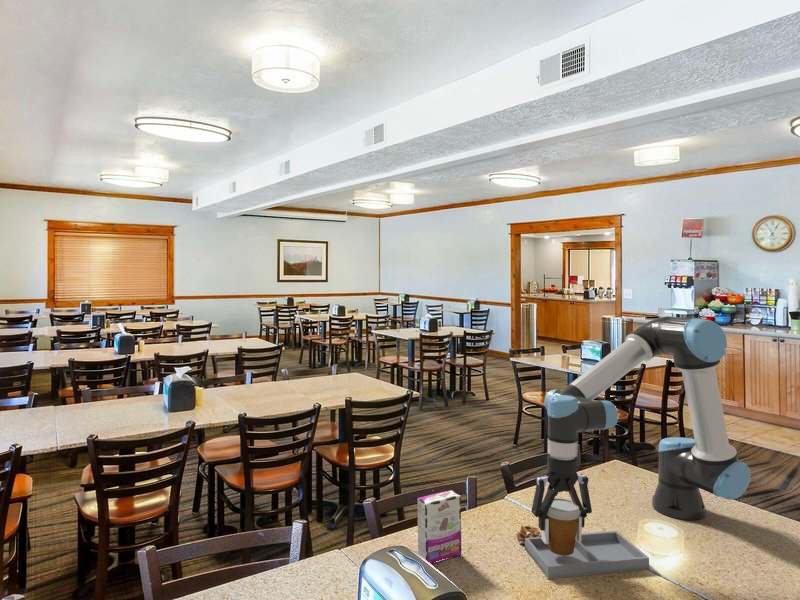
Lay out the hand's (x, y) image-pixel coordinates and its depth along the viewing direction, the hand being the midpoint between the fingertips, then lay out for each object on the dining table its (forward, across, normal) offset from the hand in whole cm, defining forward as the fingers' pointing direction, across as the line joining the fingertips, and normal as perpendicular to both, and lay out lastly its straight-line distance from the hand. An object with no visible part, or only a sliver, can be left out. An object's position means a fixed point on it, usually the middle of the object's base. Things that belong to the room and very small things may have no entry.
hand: (561, 540), depth 135 cm
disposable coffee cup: (+3, 0, 0) cm, 3 cm away
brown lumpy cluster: (+6, +3, -14) cm, 15 cm away
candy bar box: (+6, +31, -7) cm, 33 cm away
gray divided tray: (+5, -7, 0) cm, 9 cm away
